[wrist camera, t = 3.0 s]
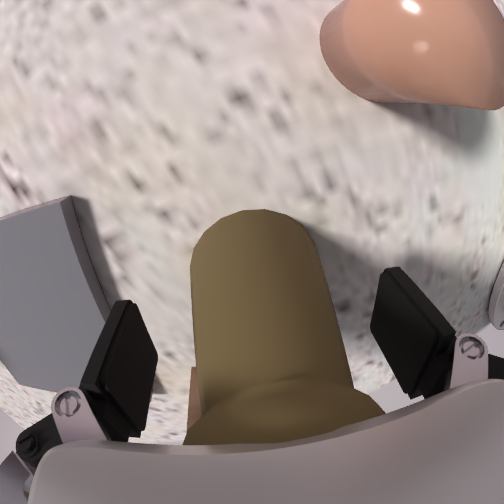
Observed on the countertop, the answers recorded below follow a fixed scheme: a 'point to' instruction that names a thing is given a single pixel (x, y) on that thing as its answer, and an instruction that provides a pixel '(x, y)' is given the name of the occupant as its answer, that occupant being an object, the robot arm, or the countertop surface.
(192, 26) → the countertop surface
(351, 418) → the olive tall rounded piece
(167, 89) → the countertop surface
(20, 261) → the slate tile
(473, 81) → the peach blob
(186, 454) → the robot arm
